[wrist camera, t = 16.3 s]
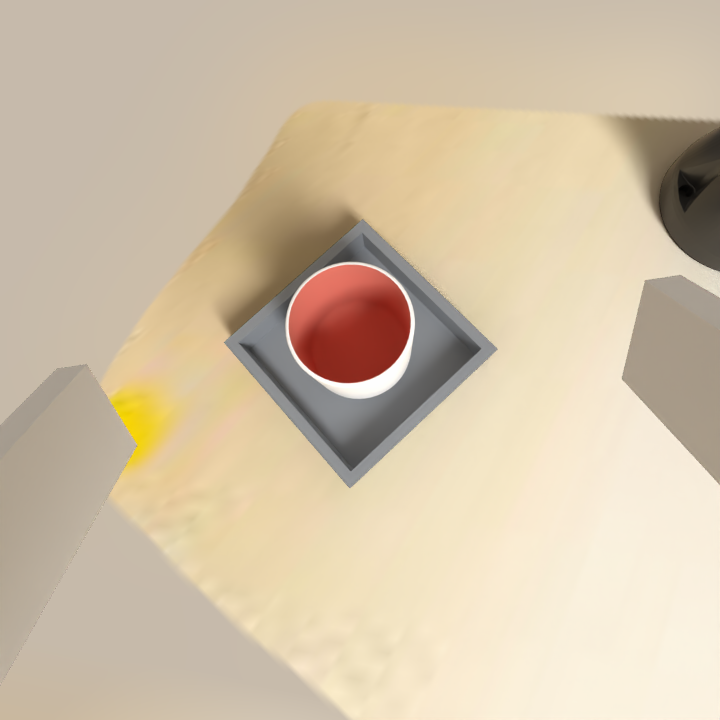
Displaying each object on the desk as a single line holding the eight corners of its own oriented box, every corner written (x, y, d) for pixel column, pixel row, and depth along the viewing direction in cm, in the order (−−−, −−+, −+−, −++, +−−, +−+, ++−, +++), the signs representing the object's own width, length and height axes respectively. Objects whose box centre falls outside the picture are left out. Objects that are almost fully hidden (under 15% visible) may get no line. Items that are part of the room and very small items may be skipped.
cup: (290, 360, 42) (258, 335, 33) (351, 283, 43) (338, 237, 34) (369, 421, 41) (360, 414, 31) (431, 340, 42) (441, 308, 32)
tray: (488, 357, 42) (497, 349, 38) (354, 483, 41) (349, 488, 37) (365, 238, 45) (362, 219, 41) (239, 351, 44) (223, 342, 40)
